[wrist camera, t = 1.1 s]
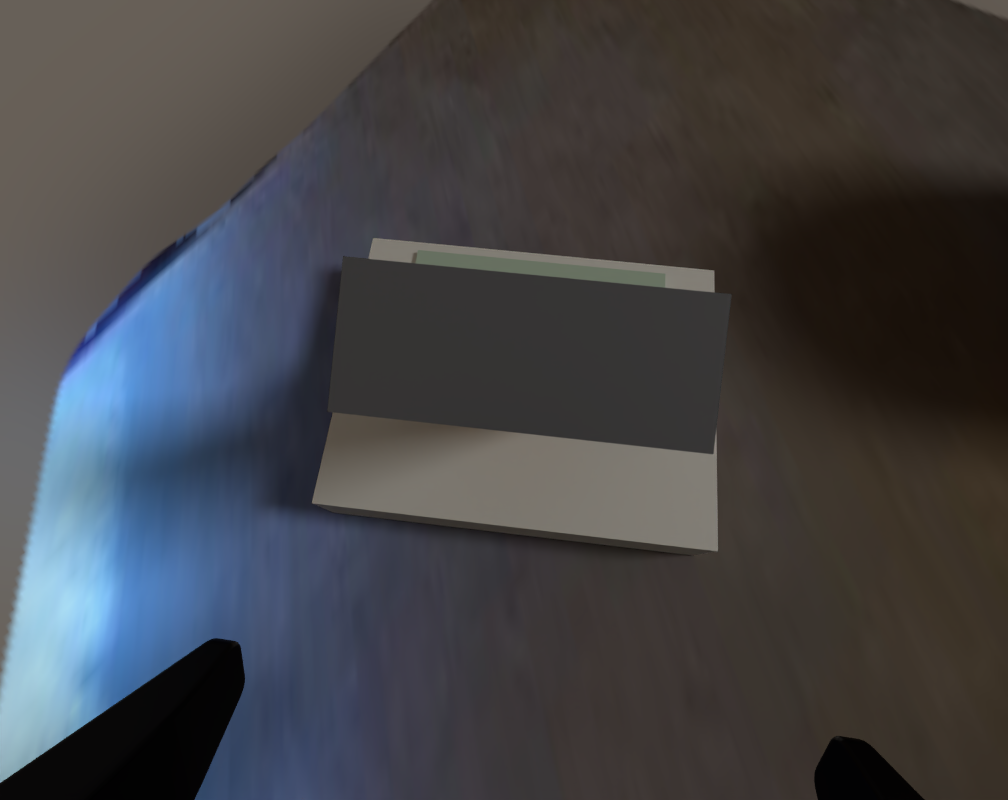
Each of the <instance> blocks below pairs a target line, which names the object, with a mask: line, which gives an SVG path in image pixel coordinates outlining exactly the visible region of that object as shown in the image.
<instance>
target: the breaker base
mask: <svg viewBox="0 0 1008 800" xmlns="http://www.w3.org/2000/svg"><path fill="white" fill-rule="evenodd" d="M369 259H376V260H386V261H396V262H406V263H417V264H427V265H437V266H448V267H458V268H468V269H478V270H489V271H499V272H509V273H519V274H530V275H540V276H550V277H561V278H571V279H581V280H591V281H602V282H612V283H622V284H632V285H643V286H653V287H663V288H674V289H684V290H694V291H704V292H714V271H713V270H702V269H692V268H681V267H671V266H661V265H650V264H640V263H629V262H619V261H608V260H598V259H587V258H577V257H566V256H556V255H545V254H535V253H525V252H514V251H504V250H493V249H483V248H472V247H462V246H451V245H441V244H430V243H420V242H409V241H399V240H388V239H378V238H373V241H372V246H371V250H370V254H369ZM312 504H315V505H317V506H319V507H322V508H324V509H326V510H328V511H331V512H333V513H340V514H349V515H357V516H365V517H374V518H382V519H391V520H399V521H407V522H416V523H424V524H433V525H441V526H449V527H458V528H466V529H475V530H483V531H491V532H500V533H508V534H517V535H525V536H533V537H542V538H550V539H559V540H567V541H575V542H584V543H592V544H601V545H609V546H617V547H626V548H634V549H643V550H651V551H660V552H668V553H676V554H685V555H693V556H694V555H700V554H706V553H711V552H717V551H718V520H717V445H716V435H715V444H714V453H713V454H705V453H696V452H687V451H678V450H669V449H660V448H651V447H642V446H633V445H623V444H614V443H605V442H596V441H587V440H578V439H569V438H560V437H551V436H542V435H533V434H524V433H515V432H506V431H497V430H488V429H479V428H470V427H461V426H452V425H443V424H433V423H424V422H415V421H406V420H397V419H388V418H379V417H370V416H361V415H352V414H343V413H334V412H333V414H332V418H331V422H330V427H329V431H328V435H327V440H326V444H325V448H324V453H323V457H322V461H321V466H320V470H319V474H318V478H317V483H316V487H315V491H314V496H313V500H312Z"/></svg>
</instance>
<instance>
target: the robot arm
mask: <svg viewBox="0 0 1008 800" xmlns="http://www.w3.org/2000/svg"><path fill="white" fill-rule="evenodd" d="M244 683H245V674H244V667H243V660H242V653H241V647H240V645H239V644H238V642H236V641H231V640H225V639H218V638H214V639H211V640H209V641H207V642H205V643H204V644H202V645H201V646H199V647H198V648H196V649H195V650H193V651H192V652H190V653H189V654H188V655H186V656H185V657H183V658H182V659H180V660H179V661H177V662H176V663H174V664H173V665H171V666H170V667H169V668H167V669H166V670H164V671H163V672H161V673H160V674H158V675H157V676H155V677H154V678H153V679H151V680H150V681H148V682H147V683H145V684H144V685H142V686H141V687H139V688H138V689H137V690H135V691H134V692H132V693H131V694H129V695H128V696H126V697H125V698H123V699H122V700H121V701H119V702H118V703H116V704H115V705H113V706H112V707H110V708H109V709H107V710H106V711H105V712H103V713H102V714H100V715H99V716H97V717H96V718H94V719H93V720H91V721H90V722H88V723H87V724H86V725H84V726H83V727H81V728H80V729H78V730H77V731H75V732H74V733H72V734H71V735H70V736H68V737H67V738H65V739H64V740H62V741H61V742H59V743H58V744H56V745H55V746H54V747H52V748H51V749H49V750H48V751H46V752H45V753H43V754H42V755H40V756H39V757H38V758H36V759H35V760H33V761H32V762H30V763H29V764H27V765H26V766H24V767H23V768H22V769H20V770H19V771H17V772H16V773H14V774H13V775H11V776H10V777H8V778H7V779H6V780H4V781H3V782H1V783H0V800H194V799H195V797H196V795H197V793H198V791H199V789H200V787H201V784H202V782H203V780H204V778H205V776H206V773H207V771H208V769H209V766H210V764H211V762H212V760H213V757H214V755H215V753H216V751H217V748H218V746H219V744H220V742H221V739H222V737H223V735H224V733H225V730H226V728H227V726H228V724H229V721H230V719H231V717H232V715H233V712H234V710H235V708H236V706H237V703H238V701H239V699H240V697H241V694H242V691H243V688H244ZM814 782H815V789H816V793H817V797H818V800H924V799H923V798H922V797H921V796H920V795H919V794H918V793H917V792H916V791H915V790H914V789H913V788H912V787H911V786H910V785H909V784H908V783H907V782H906V781H905V780H904V779H903V777H902V776H901V775H900V774H899V773H898V772H897V771H896V770H895V769H894V768H893V767H892V766H891V765H890V764H889V763H888V762H887V761H886V760H885V759H884V758H883V757H882V756H881V755H880V754H879V753H878V752H877V751H876V750H875V749H874V748H873V747H872V746H871V745H869V744H868V743H867V742H865V741H863V740H860V739H855V738H849V737H842V736H836V737H834V738H832V739H831V741H830V742H829V744H828V746H827V748H826V750H825V752H824V754H823V756H822V758H821V759H820V761H819V763H818V765H817V767H816V770H815V775H814Z"/></svg>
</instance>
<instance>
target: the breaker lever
mask: <svg viewBox="0 0 1008 800" xmlns="http://www.w3.org/2000/svg"><path fill="white" fill-rule="evenodd" d="M731 295H732V294H725V293H715V292H704V291H694V290H684V289H674V288H663V287H653V286H643V285H632V284H622V283H612V282H602V281H591V280H581V279H571V278H561V277H550V276H540V275H530V274H519V273H509V272H499V271H489V270H478V269H468V268H458V267H448V266H437V265H427V264H417V263H406V262H396V261H386V260H376V259H365V258H355V257H345V256H343V262H342V272H341V282H340V292H339V302H338V312H337V321H336V331H335V341H334V351H333V361H332V370H331V380H330V390H329V400H328V410H327V412H334V413H343V414H352V415H361V416H370V417H379V418H388V419H397V420H406V421H415V422H424V423H433V424H443V425H452V426H461V427H470V428H479V429H488V430H497V431H506V432H515V433H524V434H533V435H542V436H551V437H560V438H569V439H578V440H587V441H596V442H605V443H614V444H623V445H633V446H642V447H651V448H660V449H669V450H678V451H687V452H696V453H705V454H713V453H714V444H715V435H716V427H717V418H718V409H719V400H720V392H721V383H722V374H723V365H724V356H725V348H726V339H727V330H728V321H729V312H730V304H731Z"/></svg>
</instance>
